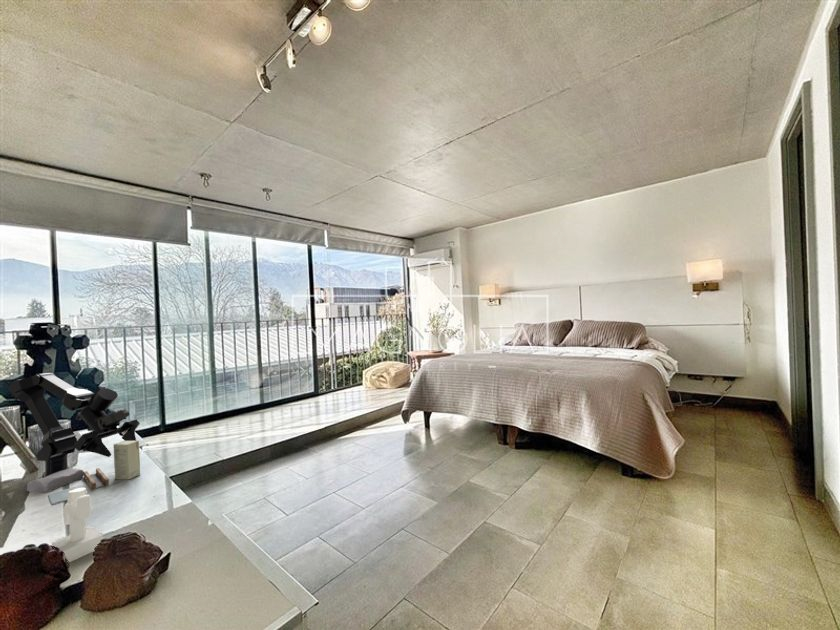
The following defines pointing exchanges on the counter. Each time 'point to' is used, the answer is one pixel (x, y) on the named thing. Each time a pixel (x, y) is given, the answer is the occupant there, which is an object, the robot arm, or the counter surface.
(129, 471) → the skincare box
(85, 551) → the figurine
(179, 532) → the counter surface
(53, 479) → the stone block
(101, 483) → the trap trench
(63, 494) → the pad
